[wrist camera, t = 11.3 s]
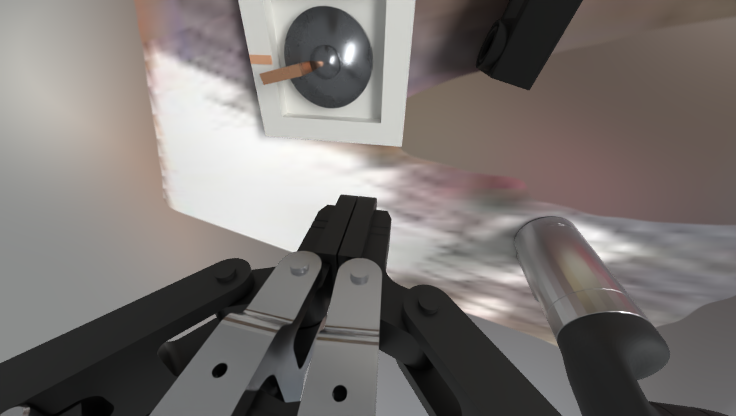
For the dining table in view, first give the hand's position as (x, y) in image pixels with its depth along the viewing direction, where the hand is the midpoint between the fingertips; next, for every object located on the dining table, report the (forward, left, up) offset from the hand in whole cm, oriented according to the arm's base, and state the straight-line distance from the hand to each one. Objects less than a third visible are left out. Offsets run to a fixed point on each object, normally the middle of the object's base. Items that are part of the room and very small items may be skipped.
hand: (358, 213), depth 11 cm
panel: (+3, +9, -29) cm, 31 cm away
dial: (+3, +9, -28) cm, 30 cm away
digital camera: (+7, -12, -29) cm, 33 cm away
